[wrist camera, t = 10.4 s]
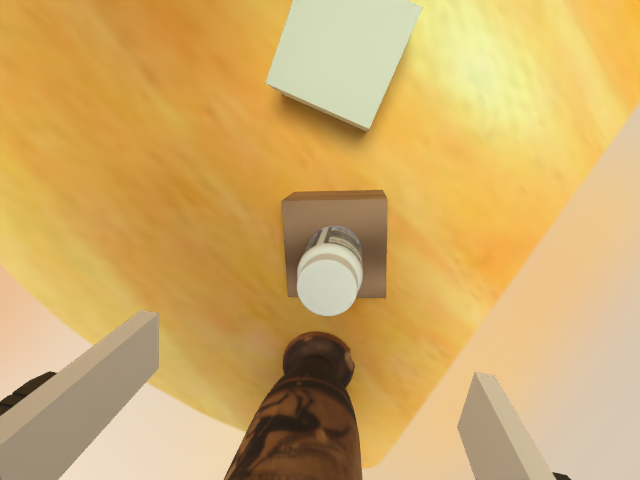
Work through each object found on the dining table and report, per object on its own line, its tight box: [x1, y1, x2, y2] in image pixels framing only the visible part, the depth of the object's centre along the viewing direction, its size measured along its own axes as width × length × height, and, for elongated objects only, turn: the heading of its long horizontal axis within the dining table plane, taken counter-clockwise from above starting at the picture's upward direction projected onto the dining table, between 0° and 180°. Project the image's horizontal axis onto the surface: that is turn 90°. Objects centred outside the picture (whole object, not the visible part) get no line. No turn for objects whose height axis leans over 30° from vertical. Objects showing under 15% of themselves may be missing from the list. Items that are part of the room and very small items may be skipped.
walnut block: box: [282, 190, 387, 298], centre depth 33 cm, size 9×9×6 cm
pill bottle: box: [297, 226, 363, 316], centre depth 26 cm, size 5×5×8 cm
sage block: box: [266, 0, 423, 132], centre depth 28 cm, size 9×9×6 cm
